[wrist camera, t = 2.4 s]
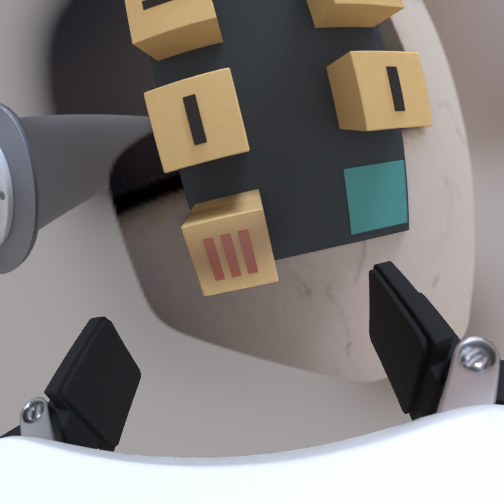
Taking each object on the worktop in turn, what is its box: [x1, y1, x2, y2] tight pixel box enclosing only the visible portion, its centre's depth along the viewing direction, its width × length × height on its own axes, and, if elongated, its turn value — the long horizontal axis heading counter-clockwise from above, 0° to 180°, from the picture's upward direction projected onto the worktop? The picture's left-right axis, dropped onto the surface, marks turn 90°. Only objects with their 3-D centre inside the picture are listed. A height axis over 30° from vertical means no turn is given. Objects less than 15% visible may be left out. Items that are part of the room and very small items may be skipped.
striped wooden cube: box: [181, 189, 278, 296], centre depth 17 cm, size 4×4×5 cm
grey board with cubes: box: [125, 0, 433, 260], centre depth 14 cm, size 20×15×5 cm
